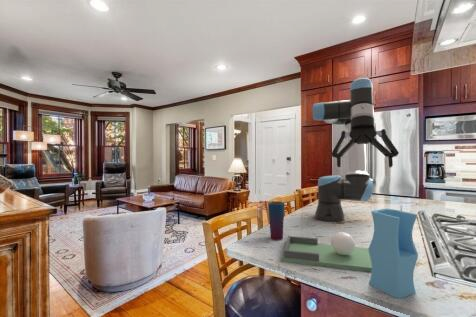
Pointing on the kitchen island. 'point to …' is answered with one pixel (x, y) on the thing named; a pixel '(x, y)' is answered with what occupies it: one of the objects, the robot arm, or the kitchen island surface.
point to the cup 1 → (276, 219)
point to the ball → (343, 243)
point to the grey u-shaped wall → (301, 254)
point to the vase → (393, 252)
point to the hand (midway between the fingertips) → (363, 176)
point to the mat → (332, 257)
